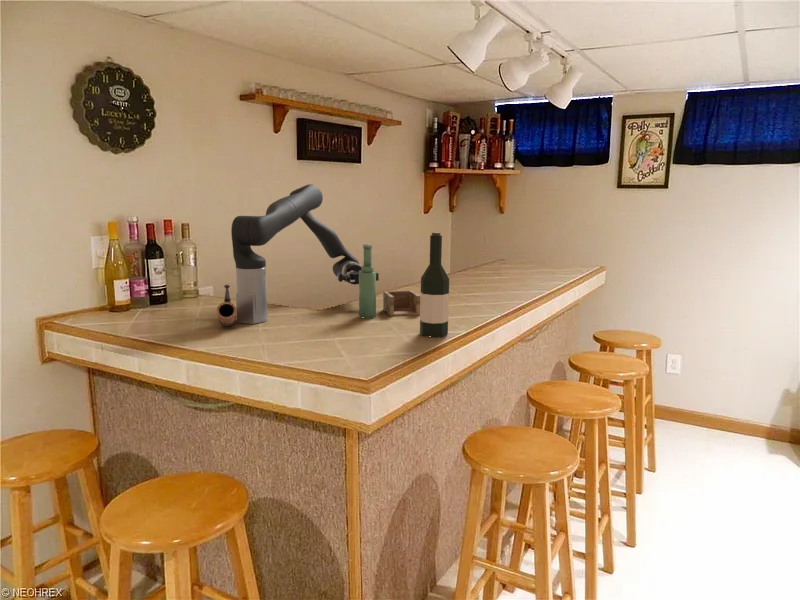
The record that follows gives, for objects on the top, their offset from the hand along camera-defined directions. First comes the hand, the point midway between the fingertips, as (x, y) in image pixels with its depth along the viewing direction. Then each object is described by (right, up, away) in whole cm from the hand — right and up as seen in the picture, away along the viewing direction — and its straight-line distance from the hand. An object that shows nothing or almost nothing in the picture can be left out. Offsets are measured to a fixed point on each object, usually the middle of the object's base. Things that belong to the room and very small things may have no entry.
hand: (361, 279), depth 205 cm
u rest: (+14, -11, 0) cm, 18 cm away
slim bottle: (+2, -13, -7) cm, 15 cm away
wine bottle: (+23, -17, -29) cm, 41 cm away
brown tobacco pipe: (-41, -14, -18) cm, 47 cm away
